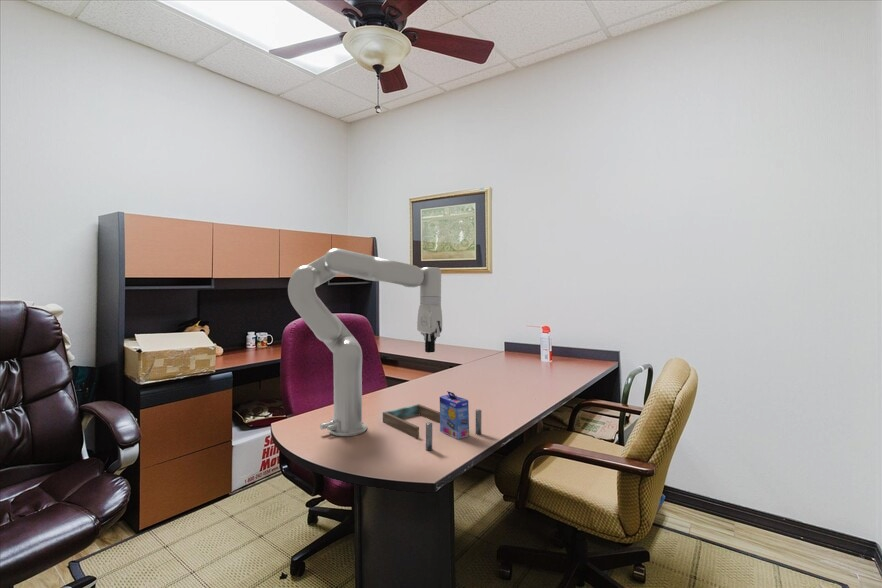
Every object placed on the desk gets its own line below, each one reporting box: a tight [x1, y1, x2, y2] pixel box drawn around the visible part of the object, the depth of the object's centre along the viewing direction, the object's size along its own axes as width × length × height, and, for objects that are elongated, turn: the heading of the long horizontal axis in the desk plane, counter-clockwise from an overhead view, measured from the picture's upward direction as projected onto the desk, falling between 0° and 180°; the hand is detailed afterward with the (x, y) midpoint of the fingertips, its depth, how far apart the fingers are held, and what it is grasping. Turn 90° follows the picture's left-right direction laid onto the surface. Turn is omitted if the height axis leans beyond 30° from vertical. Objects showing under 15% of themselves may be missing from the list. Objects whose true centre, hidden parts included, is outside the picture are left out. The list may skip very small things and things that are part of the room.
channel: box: [382, 403, 440, 439], centre depth 151 cm, size 16×21×4 cm
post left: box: [425, 422, 433, 452], centre depth 128 cm, size 2×2×8 cm
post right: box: [475, 409, 482, 436], centre depth 141 cm, size 2×2×8 cm
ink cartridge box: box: [439, 391, 470, 440], centre depth 141 cm, size 10×6×14 cm, turn 37°
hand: (429, 351), depth 152 cm, fingers closed
